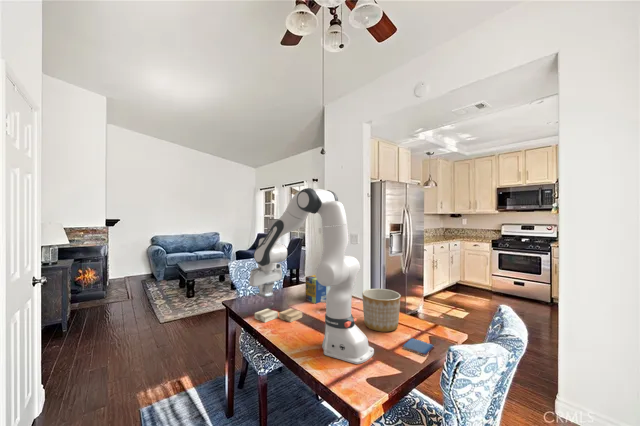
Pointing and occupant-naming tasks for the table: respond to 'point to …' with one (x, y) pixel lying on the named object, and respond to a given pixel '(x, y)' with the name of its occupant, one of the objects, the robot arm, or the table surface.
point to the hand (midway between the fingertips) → (266, 291)
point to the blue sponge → (418, 346)
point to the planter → (381, 309)
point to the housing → (267, 290)
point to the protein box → (315, 290)
